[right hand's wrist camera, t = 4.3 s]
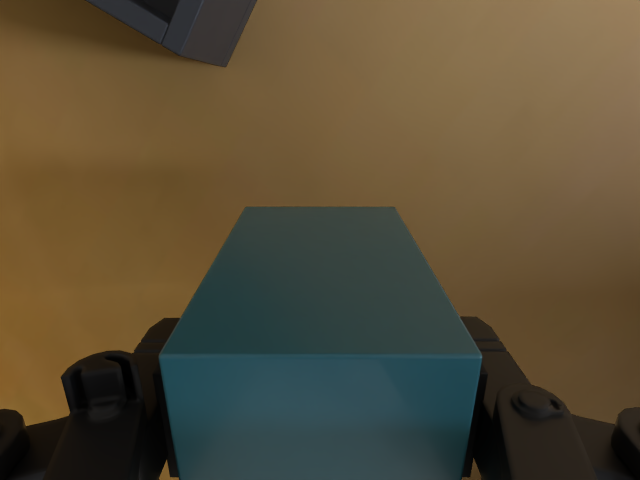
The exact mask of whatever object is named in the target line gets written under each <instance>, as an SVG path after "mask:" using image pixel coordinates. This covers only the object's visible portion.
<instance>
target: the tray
mask: <svg viewBox="0 0 640 480" xmlns="http://www.w3.org/2000/svg"><path fill="white" fill-rule="evenodd" d="M85 1H87V2H89V3H91V4H92V5H94V6H96V7H97V8H99V9H101V10H102V11H104V12H106V13H107V14H109V15H111V16H113V17H114V18H116V19H118V20H119V21H121V22H123V23H124V24H126V25H128V26H129V27H131V28H133V29H135V30H136V31H138V32H140V33H141V34H143V35H145V36H146V37H148V38H150V39H151V40H153V41H155V42H157V43H158V44H161V45H162V46H163V47H165V48H167V49H168V50H170V51H172V52H173V53H175V54H177V55H179V56H182V57H186V58H190V59H194V60H198V61H202V62H206V63H210V64H214V65H218V66H222V67H226V66H227V64H228V62H229V59H230V57H231V55H232V53H233V51H234V49H235V46H236V44H237V42H238V40H239V38H240V36H241V33H242V31H243V29H244V27H245V25H246V23H247V21H248V18H249V16H250V14H251V12H252V10H253V8H254V5H255V3H256V1H257V0H85Z"/></svg>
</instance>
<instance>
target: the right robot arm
mask: <svg viewBox="0 0 640 480" xmlns="http://www.w3.org/2000/svg"><path fill="white" fill-rule="evenodd" d="M460 318H461V320H462V322H463V323H464V325H465V327H466V328H467V330H468V332H469V334H470V335H471V337H472V339H473V340H474V342H475V344H476V345H477V347H478V349H479V350H480V352H481V354H482V363H481V369H480V374H479V380H478V386H477V392H476V398H475V404H474V410H473V415H472V421H471V427H470V433H469V439H468V445H467V451H466V456H465V462H464V468H463V474H462V477H470V475H471V469H472V464H473V458H474V459H475V462H476V464H477V467H478V469H479V472H480V474H481V480H640V408H639V407H634V408H627V409H624V410H623V411H622V412H621V413H619V414H618V417H617V421H616V424H615V425H614V424H610V423H605V422H601V421H596V420H592V419H587V418H583V417H580V416H576V415H573V414H570V411H569V410H568V408H567V407H566V406H565V404H564V403H563V402H562V401H561V400H560V399H559V398H557V397H556V396H555V395H554V394H552V393H550V392H548V391H546V390H544V389H542V388H540V387H537V386H533V385H531V383H530V382H529V381H528V379H527V378H526V376H525V375H524V374H523V372H522V371H521V369H520V368H519V366H518V365H517V364H516V362H515V361H514V359H513V358H512V356H511V355H510V354H509V352H507V351H506V348H505V346H504V345H503V344H502V342H501V341H499V338H498V336H497V335H496V334H495V332H494V331H493V329H492V328H491V327H490V326H489V325H487V324H486V323H484V322H483V321H482V320H480V319H479V318H477V317H460ZM179 320H180V318H164V319H162V320H161V321H159V322H158V323H157V324H155V325H154V326H152V327H151V328H150V329H149V330H148V331H147V333H146V334H145V336H144V337H143V339H142V340H141V343H139V344H138V346H137V347H136V349H135V350H134V353H132V354H131V353H128V352H124V351H120V350H119V351H105V352H101V353H96V354H93V355H90V356H88V357H86V358H83V359H81V360H79V361H78V362H76V363H75V364H73V365H72V366H70V367H69V368H68V369H67V370H66V371H65V373H64V374H63V375H62V376H61V380H62V384H63V387H64V391H65V395H66V398H67V402H68V406H69V409H70V414H69V416H67V417H63V418H60V419H56V420H52V421H47V422H43V423H39V424H34V425H30V426H26V425H25V422H24V419H23V416H22V415H21V414H19V413H18V412H17V411H15V410H9V409H0V480H159V477H160V474H161V472H162V469H163V467H164V465H165V462H166V460H167V462H168V468H169V473H170V477H179V476H178V470H177V464H176V458H175V452H174V446H173V440H172V434H171V428H170V422H169V416H168V411H167V405H166V399H165V393H164V387H163V381H162V375H161V369H160V363H159V354H160V352H161V350H162V349H163V347H164V345H165V343H166V342H167V340H168V338H169V337H170V335H171V333H172V332H173V330H174V328H175V326H176V325H177V323H178V321H179Z"/></svg>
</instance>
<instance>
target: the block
mask: <svg viewBox="0 0 640 480" xmlns="http://www.w3.org/2000/svg"><path fill="white" fill-rule="evenodd" d="M159 363H160V369H161V375H162V381H163V387H164V393H165V399H166V405H167V411H168V416H169V422H170V428H171V434H172V440H173V446H174V452H175V458H176V464H177V470H178V476H179V480H462V474H463V468H464V462H465V456H466V451H467V445H468V439H469V433H470V427H471V421H472V415H473V410H474V404H475V398H476V392H477V386H478V380H479V374H480V369H481V363H482V354H481V352H480V350H479V349H478V347H477V345H476V344H475V342H474V340H473V339H472V337H471V335H470V334H469V332H468V330H467V328H466V327H465V325H464V323H463V322H462V320H461V318H460V317H459V315H458V313H457V312H456V310H455V308H454V306H453V305H452V303H451V301H450V300H449V298H448V296H447V295H446V293H445V291H444V290H443V288H442V286H441V284H440V283H439V281H438V279H437V278H436V276H435V274H434V273H433V271H432V269H431V268H430V266H429V264H428V262H427V261H426V259H425V257H424V256H423V254H422V252H421V251H420V249H419V247H418V246H417V244H416V242H415V240H414V239H413V237H412V235H411V234H410V232H409V230H408V229H407V227H406V225H405V224H404V222H403V220H402V218H401V217H400V215H399V213H398V212H397V210H396V208H395V207H245V209H244V210H243V212H242V214H241V215H240V217H239V219H238V221H237V222H236V224H235V226H234V227H233V229H232V231H231V233H230V234H229V236H228V238H227V239H226V241H225V243H224V244H223V246H222V248H221V250H220V251H219V253H218V255H217V256H216V258H215V260H214V262H213V263H212V265H211V267H210V268H209V270H208V272H207V273H206V275H205V277H204V279H203V280H202V282H201V284H200V285H199V287H198V289H197V291H196V292H195V294H194V296H193V297H192V299H191V301H190V303H189V304H188V306H187V308H186V309H185V311H184V313H183V314H182V316H181V318H180V320H179V321H178V323H177V325H176V326H175V328H174V330H173V332H172V333H171V335H170V337H169V338H168V340H167V342H166V343H165V345H164V347H163V349H162V350H161V352H160V354H159Z"/></svg>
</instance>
